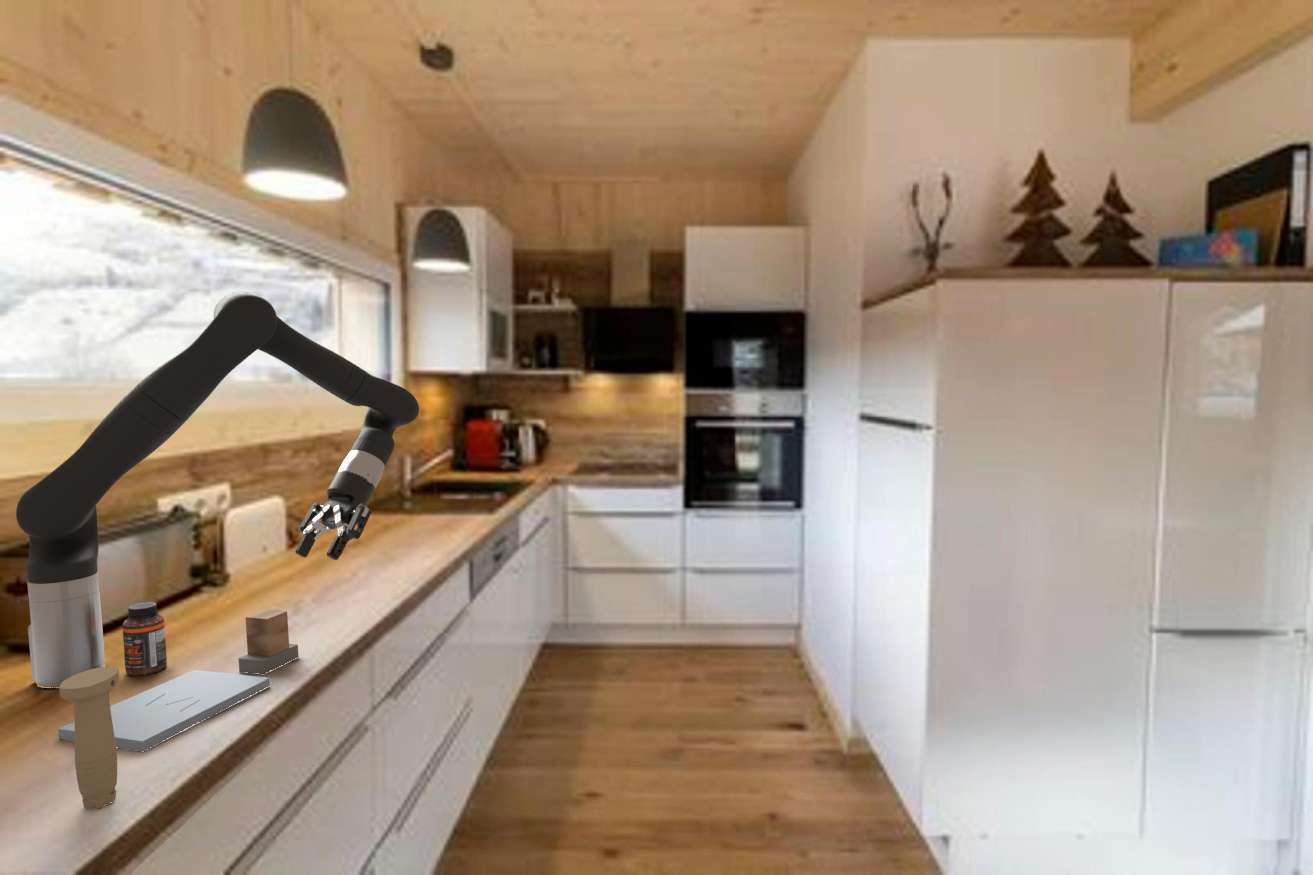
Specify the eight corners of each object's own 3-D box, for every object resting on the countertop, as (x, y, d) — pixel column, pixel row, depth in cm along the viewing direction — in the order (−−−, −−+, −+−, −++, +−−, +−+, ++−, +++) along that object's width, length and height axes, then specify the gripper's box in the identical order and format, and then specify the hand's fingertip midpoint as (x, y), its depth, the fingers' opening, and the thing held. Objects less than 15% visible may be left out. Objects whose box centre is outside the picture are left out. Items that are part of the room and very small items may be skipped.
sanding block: (239, 672, 130) (235, 620, 129) (275, 656, 138) (272, 606, 137) (263, 675, 129) (260, 622, 128) (298, 658, 136) (295, 608, 136)
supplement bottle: (116, 676, 129) (111, 609, 128) (144, 663, 135) (139, 599, 134) (148, 677, 129) (144, 610, 128) (175, 664, 134) (171, 600, 134)
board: (59, 739, 107) (58, 728, 107) (195, 678, 128) (194, 669, 128) (143, 752, 102) (142, 741, 102) (270, 687, 123) (269, 677, 123)
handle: (137, 787, 93) (128, 665, 92) (105, 817, 87) (95, 687, 86) (94, 790, 93) (84, 668, 92) (59, 820, 87) (48, 690, 85)
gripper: (317, 469, 148) (274, 545, 140) (369, 468, 141) (327, 548, 133) (345, 489, 154) (305, 564, 145) (396, 490, 147) (357, 568, 138)
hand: (315, 556), depth 139 cm, fingers open, 8 cm apart
